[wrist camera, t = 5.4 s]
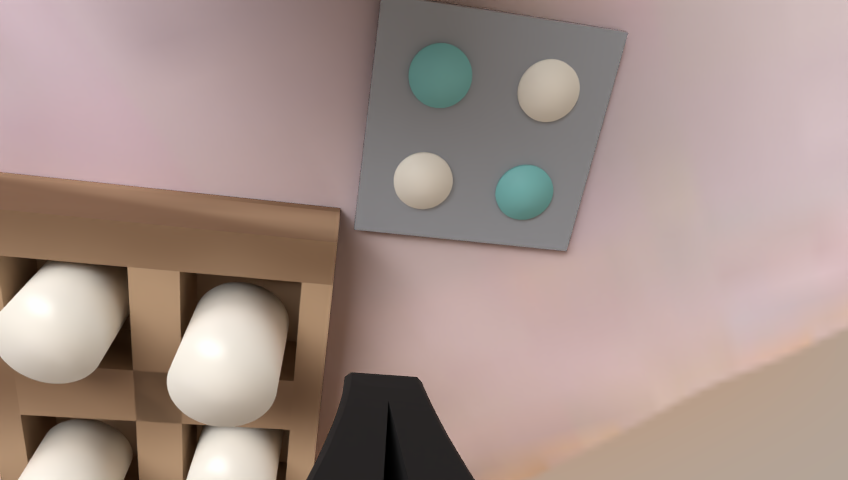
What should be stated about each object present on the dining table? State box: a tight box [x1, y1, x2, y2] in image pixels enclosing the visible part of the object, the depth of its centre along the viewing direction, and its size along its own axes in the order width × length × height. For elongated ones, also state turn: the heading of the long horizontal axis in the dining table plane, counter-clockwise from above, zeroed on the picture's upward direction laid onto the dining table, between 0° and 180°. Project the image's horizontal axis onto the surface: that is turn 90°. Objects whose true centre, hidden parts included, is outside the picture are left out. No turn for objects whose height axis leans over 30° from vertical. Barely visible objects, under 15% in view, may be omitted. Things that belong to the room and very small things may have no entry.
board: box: [0, 172, 340, 480], centre depth 21 cm, size 12×10×2 cm
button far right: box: [186, 425, 283, 480], centre depth 22 cm, size 3×3×3 cm
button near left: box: [0, 260, 130, 384], centre depth 19 cm, size 3×3×3 cm
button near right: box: [167, 282, 289, 427], centre depth 18 cm, size 3×3×3 cm
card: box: [354, 0, 628, 251], centre depth 19 cm, size 7×7×1 cm
